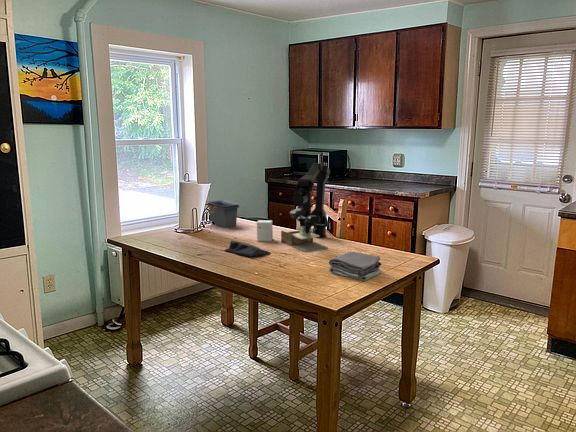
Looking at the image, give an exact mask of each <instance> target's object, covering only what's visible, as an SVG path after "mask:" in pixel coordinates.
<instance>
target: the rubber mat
mask: <svg viewBox="0 0 576 432" xmlns="http://www.w3.org/2000/svg"><path fill="white" fill-rule="evenodd" d="M291 247H292V248H294V249H296V250H298V251H301V252H303V253H309V252H314V251H321V250H326V249H327V250H328V248H329V247H328V246H325V245H322V244H320V243H318V242H314V241H313V243H307V244H301V245H294V246H291Z"/></svg>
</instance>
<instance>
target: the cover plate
mask: <svg viewBox="0 0 576 432" xmlns="http://www.w3.org/2000/svg"><path fill="white" fill-rule="evenodd" d="M299 230H300V233H295V234H292V235H293V236H294V237H296V238H299V239H308V238H313V239H314V238H316V237H320V235H317V234H314V233H311V231H312V228H311V229H310V231H309V233H307V234H306V229H305V226H301V225H299Z"/></svg>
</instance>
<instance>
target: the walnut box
mask: <svg viewBox="0 0 576 432" xmlns="http://www.w3.org/2000/svg"><path fill="white" fill-rule="evenodd" d="M280 232H281V233H280V235H281V236H280V238H281V239H280V243H283V244H285V245H288V246H289V247H292V246H294V245H301V244H307V243H314V238H308V239H299V238H296V237H294V236H293V235H292V234H295V233H300V229H299V230H293V231H284V230H281V231H280ZM311 233H313V230H311Z"/></svg>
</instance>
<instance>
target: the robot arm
mask: <svg viewBox="0 0 576 432" xmlns="http://www.w3.org/2000/svg"><path fill="white" fill-rule="evenodd" d="M330 174H331V168H330V167H328V166H327V165H324V164H323V163H320V162H318V163H317V162H316V163H315V162H314V163H312V164H311V167H310V169H309V170H308V172H307V173H306V175H304V176H301V177H300V178H299V180H298V181H297V183H296V187H295V190H294V191H295V193H296V194H295V195H294V196H293V198H292V203H293V204H294V205H295V206H297V208H294V209H293V210H291V211H289V215H290V218H291V219H294V220H296V221H298V223H299V226H305V229H306V234H307V233H309V231H310V229H311V230H312V232H313V233H314V234H317V235H320V237H315V238H316V239H322V238H328V236H327V235H326V233H327V231H326V230H327V228H328V227H329V221H328V218H327V213H326V211H325V208H324V206H325V192H326V182H327V181H328V180H329V177H330ZM314 181H316V187H315V182H314ZM314 187H315V188H316V190H315V202H314V203H315V204H314V206H315V207H314V206H313V204H312V194H313V193H312V192H313V190H314ZM313 207H314V209H313V210H312V208H313ZM312 227H313V228H312Z"/></svg>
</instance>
